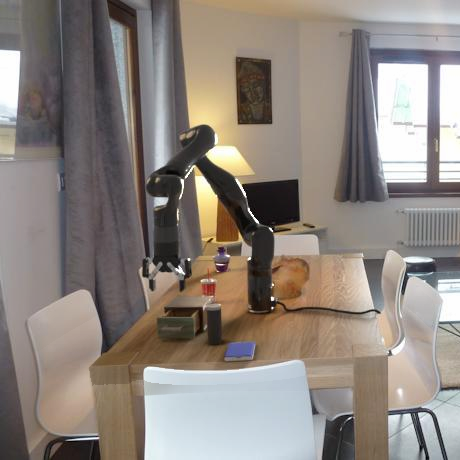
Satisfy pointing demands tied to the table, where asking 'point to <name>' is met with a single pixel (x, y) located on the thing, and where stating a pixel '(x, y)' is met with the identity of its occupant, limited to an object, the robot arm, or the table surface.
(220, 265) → the potion bottle
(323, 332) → the table surface
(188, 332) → the drawer
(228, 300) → the table surface
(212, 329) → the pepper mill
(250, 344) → the hard drive
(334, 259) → the table surface
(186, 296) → the cabinet
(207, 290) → the beverage cup
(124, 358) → the table surface
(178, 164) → the robot arm
